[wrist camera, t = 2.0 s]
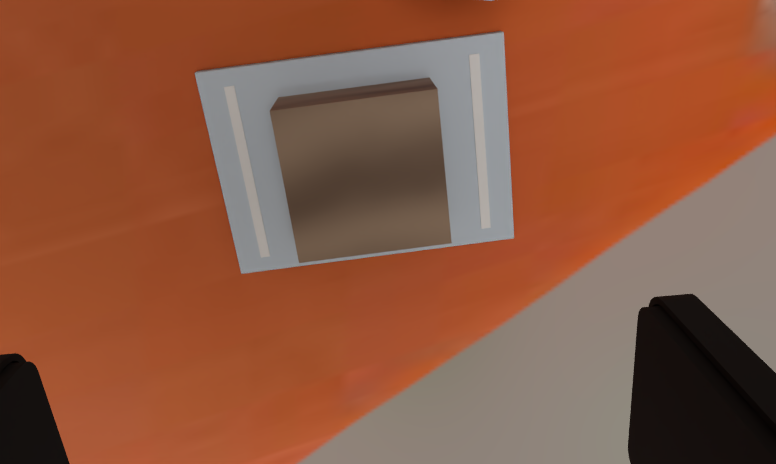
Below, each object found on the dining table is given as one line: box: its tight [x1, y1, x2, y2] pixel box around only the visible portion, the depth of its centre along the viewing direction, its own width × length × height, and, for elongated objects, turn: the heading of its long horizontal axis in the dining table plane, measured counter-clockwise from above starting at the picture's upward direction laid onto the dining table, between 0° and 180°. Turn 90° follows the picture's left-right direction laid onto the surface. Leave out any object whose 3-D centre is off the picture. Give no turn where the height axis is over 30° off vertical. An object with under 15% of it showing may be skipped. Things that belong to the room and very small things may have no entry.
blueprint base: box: [195, 31, 514, 274], centre depth 38 cm, size 13×18×5 cm
